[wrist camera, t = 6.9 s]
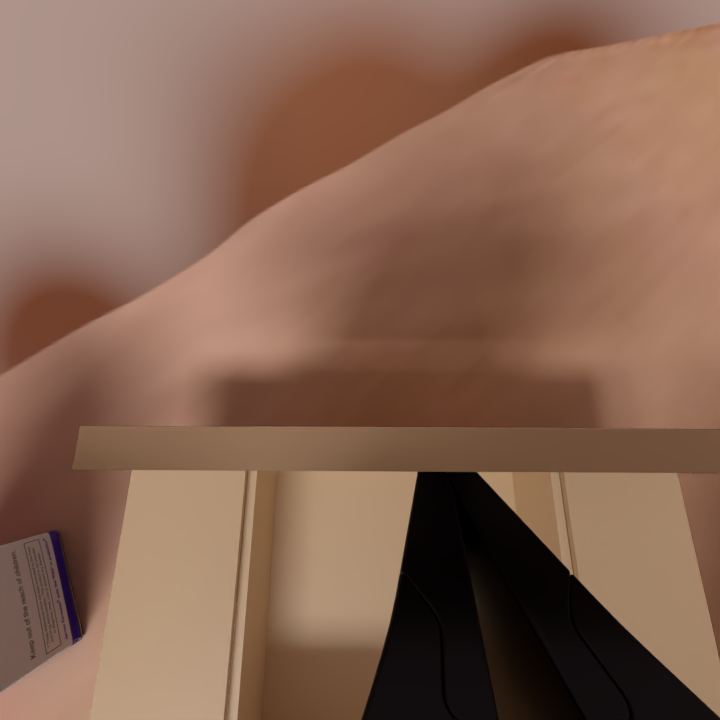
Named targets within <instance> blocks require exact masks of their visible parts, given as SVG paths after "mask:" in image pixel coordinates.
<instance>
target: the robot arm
mask: <svg viewBox="0 0 720 720" xmlns="http://www.w3.org/2000/svg"><path fill="white" fill-rule="evenodd" d="M361 720H720V717H719V716H718V715H717V714H716V713H715V712H714V711H712V710H711V709H710V708H709V707H708V706H707V705H706V704H705V703H704V702H703V701H702V700H701V699H700V698H699V697H698V696H696V695H695V694H694V693H693V692H692V691H691V690H690V689H689V688H688V687H687V686H686V685H685V684H684V683H683V682H681V681H680V680H679V679H678V678H677V677H676V676H675V675H674V674H673V673H672V672H671V671H670V670H669V669H668V668H667V667H665V666H664V665H663V664H662V663H661V662H660V661H659V660H658V659H657V658H656V657H655V656H654V655H653V654H652V653H651V652H650V651H649V650H648V649H646V648H645V647H644V646H643V645H642V644H641V643H640V642H639V641H638V640H637V639H636V638H635V637H634V636H633V635H632V634H631V633H630V632H629V631H628V630H627V629H626V628H625V627H624V626H623V625H622V624H621V623H619V621H618V620H617V619H616V618H615V617H614V616H613V615H612V614H611V613H610V612H609V611H608V610H607V609H606V608H605V607H604V606H603V605H602V604H601V603H600V602H599V601H598V600H597V599H596V598H595V597H594V596H593V595H592V594H591V593H590V592H589V591H588V590H587V588H586V587H585V586H584V585H583V584H582V583H581V582H580V581H579V580H578V579H577V578H576V577H575V576H574V575H573V574H571V575H570V571H569V569H568V568H567V567H566V566H565V565H564V564H563V563H562V562H561V561H560V560H559V559H558V558H557V557H556V556H555V555H554V554H553V552H552V551H551V550H550V549H549V548H548V547H547V546H546V545H545V544H544V543H543V542H542V541H541V540H540V539H539V538H538V536H537V535H536V534H535V533H534V532H533V531H532V530H531V529H530V528H529V527H528V526H527V525H526V524H525V523H524V522H523V521H522V519H521V518H520V517H519V516H518V515H517V514H516V513H515V512H514V511H513V510H512V509H511V508H510V507H509V506H508V505H507V503H506V502H505V501H504V500H503V499H502V498H501V497H500V496H499V495H498V494H497V493H496V492H495V491H494V490H493V489H492V487H491V486H490V485H489V484H488V483H487V482H486V481H485V480H484V479H483V478H482V477H481V476H480V475H479V474H478V473H477V472H418V473H417V478H416V484H415V490H414V495H413V501H412V506H411V512H410V518H409V523H408V529H407V535H406V540H405V546H404V552H403V557H402V563H401V569H400V575H399V579H398V584H397V590H396V595H395V600H394V605H393V610H392V614H391V619H390V624H389V627H388V631H387V635H386V638H385V642H384V645H383V649H382V653H381V656H380V660H379V663H378V666H377V669H376V673H375V676H374V679H373V682H372V686H371V689H370V692H369V695H368V699H367V702H366V705H365V708H364V712H363V715H362V718H361Z"/></svg>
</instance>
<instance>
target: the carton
mask: <svg viewBox="0 0 720 720" xmlns="http://www.w3.org/2000/svg"><path fill="white" fill-rule="evenodd" d="M417 473H418V472H389V471H200V470H132V473H131V478H130V484H129V490H128V496H127V502H126V508H125V513H124V519H123V525H122V531H121V537H120V543H119V548H118V554H117V560H116V566H115V572H114V577H113V583H112V589H111V595H110V601H109V607H108V612H107V618H106V624H105V630H104V636H103V642H102V647H101V653H100V659H99V665H98V671H97V677H96V682H95V688H94V694H93V700H92V706H91V712H90V717H89V720H226V717H227V720H361V718H362V715H363V712H364V708H365V705H366V702H367V699H368V695H369V692H370V689H371V686H372V682H373V679H374V676H375V673H376V669H377V666H378V663H379V660H380V656H381V653H382V649H383V645H384V642H385V638H386V635H387V631H388V627H389V624H390V619H391V614H392V610H393V605H394V600H395V595H396V590H397V584H398V579H399V575H400V569H401V563H402V557H403V552H404V546H405V540H406V535H407V529H408V523H409V518H410V512H411V506H412V501H413V495H414V490H415V484H416V478H417ZM477 473H478V474H479V475H480V476H481V477H482V478H483V479H484V480H485V481H486V482H487V483H488V484H489V485H490V486H491V487H492V489H493V490H494V491H495V492H496V493H497V494H498V495H499V496H500V497H501V498H502V499H503V500H504V501H505V502H506V503H507V505H508V506H509V507H510V508H511V509H512V510H513V511H514V512H515V513H516V514H517V515H518V516H519V517H520V518H521V519H522V521H523V522H524V523H525V524H526V525H527V526H528V527H529V528H530V529H531V530H532V531H533V532H534V533H535V534H536V535H537V536H538V538H539V539H540V540H541V541H542V542H543V543H544V544H545V545H546V546H547V547H548V548H549V549H550V550H551V551H552V552H553V554H554V555H555V556H556V557H557V558H558V559H559V560H560V561H561V562H562V563H563V564H564V565H565V566H566V567H567V568H568V569H569V571H570V575H571V574H573V571H574V576H575V577H576V578H577V579H578V580H579V581H580V582H581V583H582V584H583V585H584V586H585V587H586V588H587V590H588V591H589V592H590V593H591V594H592V595H593V596H594V597H595V598H596V599H597V600H598V601H599V602H600V603H601V604H602V605H603V606H604V607H605V608H606V609H607V610H608V611H609V612H610V613H611V614H612V615H613V616H614V617H615V618H616V619H617V620H618V621H619V623H621V624H622V625H623V626H624V627H625V628H626V629H627V630H628V631H629V632H630V633H631V634H632V635H633V636H634V637H635V638H636V639H637V640H638V641H639V642H640V643H641V644H642V645H643V646H644V647H645V648H646V649H648V650H649V651H650V652H651V653H652V654H653V655H654V656H655V657H656V658H657V659H658V660H659V661H660V662H661V663H662V664H663V665H664V666H665V667H667V668H668V669H669V670H670V671H671V672H672V673H673V674H674V675H675V676H676V677H677V678H678V679H679V680H680V681H681V682H683V683H684V684H685V685H686V686H687V687H688V688H689V689H690V690H691V691H692V692H693V693H694V694H695V695H696V696H698V697H699V698H700V699H701V700H702V701H703V702H704V703H705V704H706V705H707V706H708V707H709V708H710V709H711V710H712V711H714V712H715V713H716V714H717V715H718V716H719V717H720V659H719V655H718V650H717V646H716V641H715V637H714V633H713V628H712V624H711V619H710V615H709V611H708V606H707V602H706V597H705V593H704V588H703V584H702V580H701V575H700V571H699V566H698V562H697V558H696V553H695V549H694V544H693V540H692V535H691V531H690V527H689V522H688V518H687V513H686V509H685V505H684V500H683V496H682V491H681V487H680V483H679V478H678V474H677V473H578V472H560V477H559V472H477ZM247 475H248V479H247ZM560 479H561V484H560ZM246 486H247V491H246ZM561 486H562V491H561ZM562 493H563V498H562ZM245 498H246V502H245ZM563 500H564V505H563ZM564 507H565V512H564ZM244 509H245V514H244ZM565 514H566V519H565ZM243 521H244V525H243ZM566 521H567V526H566ZM567 529H568V534H567ZM242 532H243V537H242ZM568 536H569V541H568ZM569 543H570V548H569ZM241 544H242V548H241ZM570 550H571V555H570ZM240 555H241V560H240ZM571 557H572V562H571ZM572 564H573V569H572ZM239 567H240V572H239ZM238 578H239V583H238ZM237 590H238V595H237ZM236 601H237V606H236ZM235 613H236V618H235ZM234 625H235V629H234ZM233 636H234V641H233ZM232 648H233V652H232ZM231 659H232V664H231ZM230 671H231V676H230ZM229 682H230V687H229ZM228 694H229V699H228ZM227 705H228V710H227Z"/></svg>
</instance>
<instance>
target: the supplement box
mask: <svg viewBox="0 0 720 720" xmlns="http://www.w3.org/2000/svg"><path fill="white" fill-rule="evenodd" d="M82 637H83V634H82V629H81V624H80V620H79V615H78V612H77V608H76V604H75V600H74V596H73V592H72V588H71V584H70V579H69V575H68V571H67V565H66V560H65V556H64V552H63V547H62V543H61V540H60V536H59V533H58V532H57V531H50V532H47V533H43V534H39V535H35V536H32V537H28V538H25V539H22V540H18V541H15V542H11V543H7V544H4V545H0V693H2V692H3V691H5V690H6V689H8V688H9V687H11V686H12V685H14V684H15V683H17V682H18V681H19V680H21V679H23V678H24V677H25V676H27V675H28V674H30V673H31V672H33V671H34V670H36V669H37V668H38V667H40V666H41V665H43V664H44V663H46V662H47V661H49V660H50V659H52V658H53V657H55V656H56V655H58V654H59V653H61V652H62V651H64V650H65V649H67V648H68V647H70V646H72V645H73V644H75V643H76V642H78V641H80V640H81V639H82Z"/></svg>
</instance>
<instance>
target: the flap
mask: <svg viewBox="0 0 720 720" xmlns="http://www.w3.org/2000/svg"><path fill="white" fill-rule="evenodd" d="M72 470H200V471H389V472H578V473H720V429H655V428H466V427H277V426H252V427H195V426H80V429H79V434H78V439H77V444H76V450H75V455H74V460H73V465H72Z"/></svg>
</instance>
